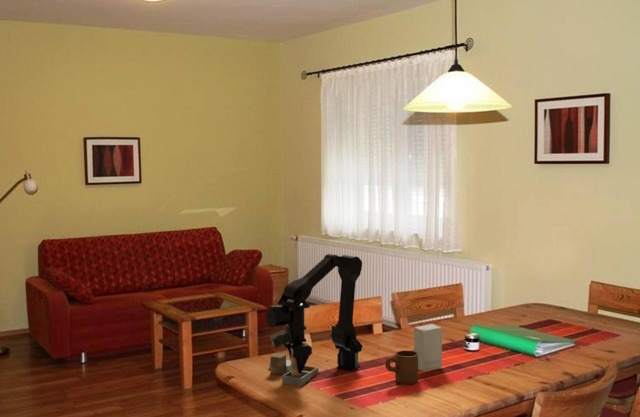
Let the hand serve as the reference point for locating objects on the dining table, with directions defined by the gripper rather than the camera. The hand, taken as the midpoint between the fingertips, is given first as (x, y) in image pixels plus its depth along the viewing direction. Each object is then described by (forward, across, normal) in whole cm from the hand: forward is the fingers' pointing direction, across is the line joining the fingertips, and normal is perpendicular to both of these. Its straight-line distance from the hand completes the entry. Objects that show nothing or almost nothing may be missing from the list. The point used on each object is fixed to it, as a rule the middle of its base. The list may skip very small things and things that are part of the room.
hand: (296, 368), depth 228 cm
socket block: (+4, -6, +5) cm, 9 cm away
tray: (+4, 0, 0) cm, 4 cm away
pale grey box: (+5, -16, -1) cm, 17 cm away
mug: (+5, +11, +33) cm, 35 cm away
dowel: (+4, 0, 0) cm, 4 cm away
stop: (+4, -11, -4) cm, 12 cm away
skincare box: (+5, 0, +48) cm, 48 cm away
